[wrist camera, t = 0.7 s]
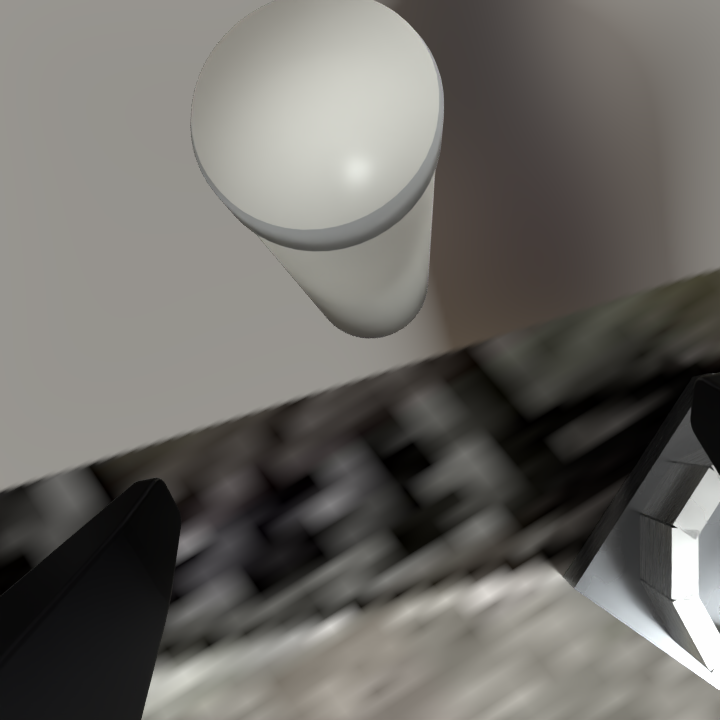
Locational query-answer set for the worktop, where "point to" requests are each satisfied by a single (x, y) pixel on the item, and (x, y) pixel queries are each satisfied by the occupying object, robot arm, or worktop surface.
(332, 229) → the white cylinder
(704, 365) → the worktop surface
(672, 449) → the duct collar
